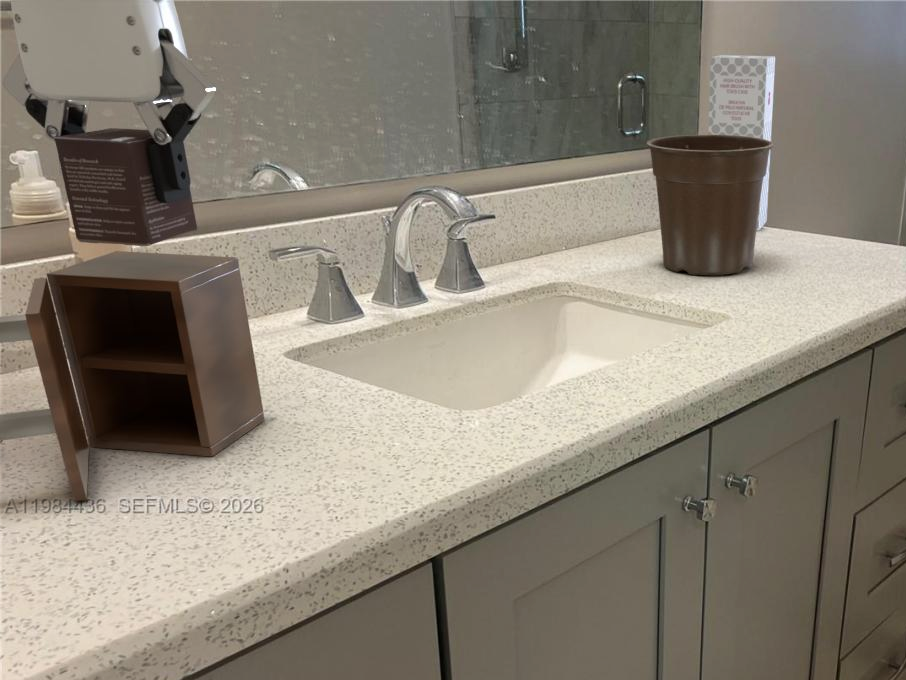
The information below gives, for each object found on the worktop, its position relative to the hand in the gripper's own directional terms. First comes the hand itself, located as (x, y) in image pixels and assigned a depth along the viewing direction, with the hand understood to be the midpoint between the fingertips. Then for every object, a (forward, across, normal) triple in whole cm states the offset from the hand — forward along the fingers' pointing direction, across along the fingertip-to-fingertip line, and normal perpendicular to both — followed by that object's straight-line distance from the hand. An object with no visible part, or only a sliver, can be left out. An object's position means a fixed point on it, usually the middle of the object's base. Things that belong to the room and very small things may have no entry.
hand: (131, 195), depth 76 cm
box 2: (+19, -35, -100) cm, 108 cm away
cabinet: (+19, 0, 0) cm, 19 cm away
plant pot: (+19, -34, -69) cm, 79 cm away
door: (+18, +5, +11) cm, 22 cm away
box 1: (+3, 0, 0) cm, 3 cm away
